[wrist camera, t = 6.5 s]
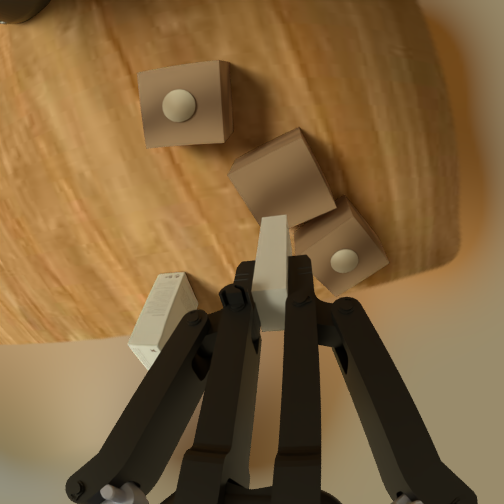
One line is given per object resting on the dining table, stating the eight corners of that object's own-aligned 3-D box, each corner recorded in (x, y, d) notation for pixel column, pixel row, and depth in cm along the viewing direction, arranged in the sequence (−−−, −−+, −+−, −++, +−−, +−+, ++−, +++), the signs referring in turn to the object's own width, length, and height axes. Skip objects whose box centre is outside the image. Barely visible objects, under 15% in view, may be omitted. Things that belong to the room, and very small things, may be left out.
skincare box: (157, 273, 38) (122, 343, 28) (187, 270, 37) (156, 344, 27) (173, 306, 41) (147, 374, 32) (202, 304, 41) (179, 377, 31)
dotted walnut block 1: (159, 71, 24) (135, 73, 19) (229, 62, 23) (218, 60, 19) (166, 135, 28) (145, 149, 23) (233, 131, 27) (223, 143, 23)
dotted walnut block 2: (294, 231, 33) (295, 259, 28) (343, 193, 29) (353, 217, 25) (331, 268, 35) (336, 298, 31) (378, 236, 32) (390, 264, 28)
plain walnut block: (236, 158, 28) (227, 175, 24) (298, 126, 26) (301, 137, 22) (270, 213, 32) (267, 237, 28) (329, 186, 29) (336, 207, 25)
